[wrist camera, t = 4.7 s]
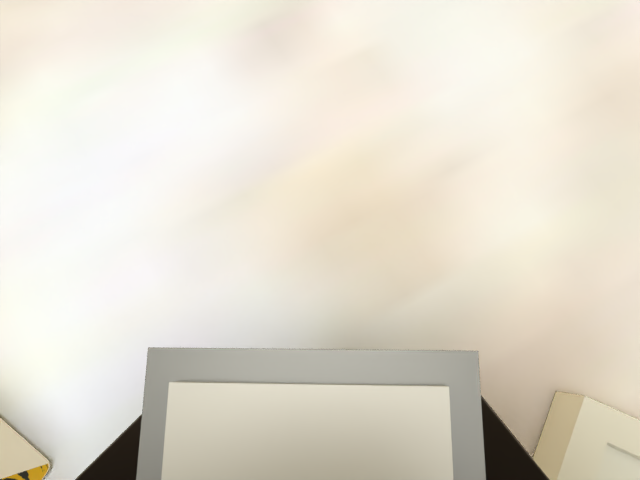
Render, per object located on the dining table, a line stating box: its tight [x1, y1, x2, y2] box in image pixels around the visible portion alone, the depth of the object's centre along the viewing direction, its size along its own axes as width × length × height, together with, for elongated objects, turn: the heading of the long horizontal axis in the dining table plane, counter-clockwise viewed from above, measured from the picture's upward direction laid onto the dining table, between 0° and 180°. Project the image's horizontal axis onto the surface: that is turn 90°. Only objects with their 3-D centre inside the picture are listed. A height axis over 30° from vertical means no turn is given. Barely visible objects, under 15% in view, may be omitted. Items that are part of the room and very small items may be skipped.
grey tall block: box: [136, 348, 486, 480], centre depth 11 cm, size 4×4×9 cm
